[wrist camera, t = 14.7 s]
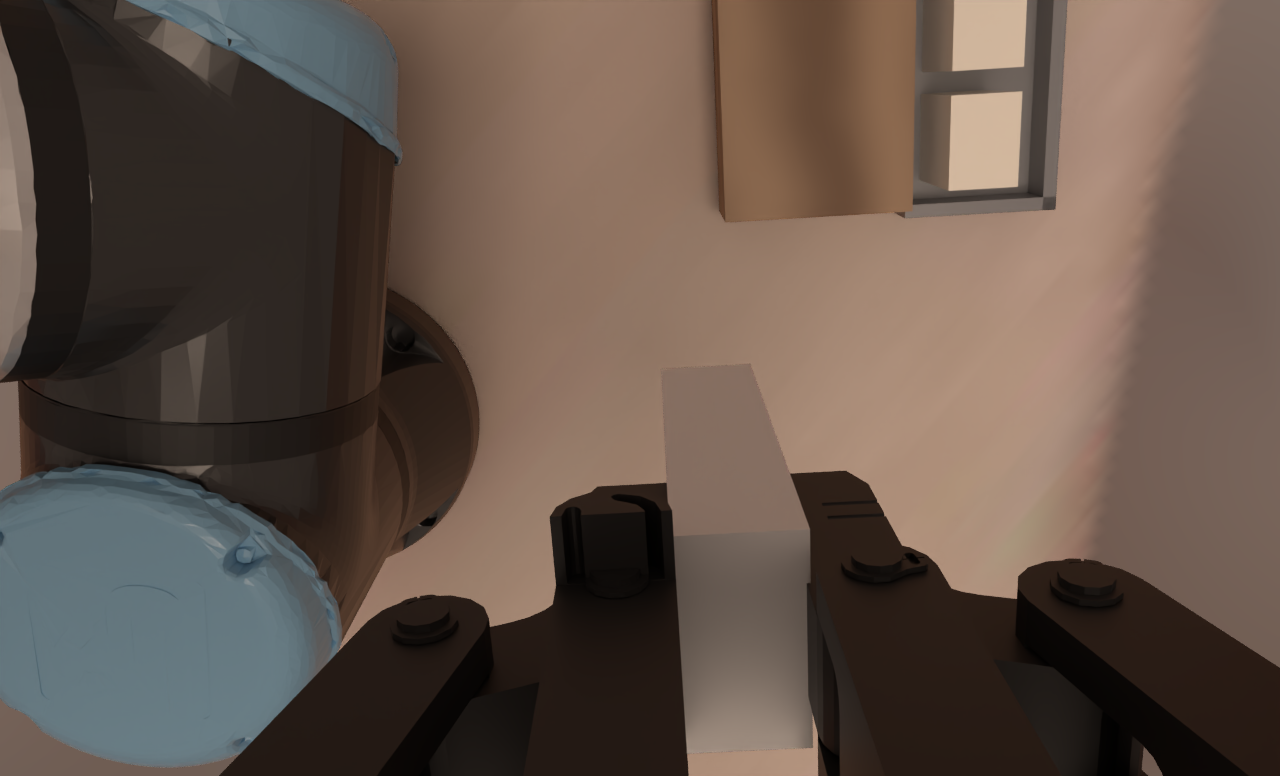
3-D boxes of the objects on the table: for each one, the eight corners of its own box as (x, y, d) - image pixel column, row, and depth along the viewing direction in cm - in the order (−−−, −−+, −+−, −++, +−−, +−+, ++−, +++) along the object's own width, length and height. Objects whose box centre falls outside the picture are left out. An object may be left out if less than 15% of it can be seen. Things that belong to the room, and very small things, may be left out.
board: (719, 211, 50) (725, 222, 47) (710, -28, 47) (716, -38, 43) (892, 201, 50) (912, 211, 46) (895, -40, 47) (917, -51, 43)
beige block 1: (952, 71, 43) (1023, 66, 43) (955, -31, 42) (1028, -36, 42) (921, 72, 48) (986, 67, 48) (923, -20, 47) (989, -24, 47)
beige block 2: (948, 190, 44) (1017, 186, 44) (951, 95, 43) (1022, 91, 43) (919, 179, 49) (981, 176, 49) (921, 93, 48) (985, 89, 48)
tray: (892, 211, 50) (904, 218, 48) (895, -52, 47) (909, -59, 44) (1035, 202, 50) (1055, 209, 48) (1049, -62, 47) (1071, -70, 44)
